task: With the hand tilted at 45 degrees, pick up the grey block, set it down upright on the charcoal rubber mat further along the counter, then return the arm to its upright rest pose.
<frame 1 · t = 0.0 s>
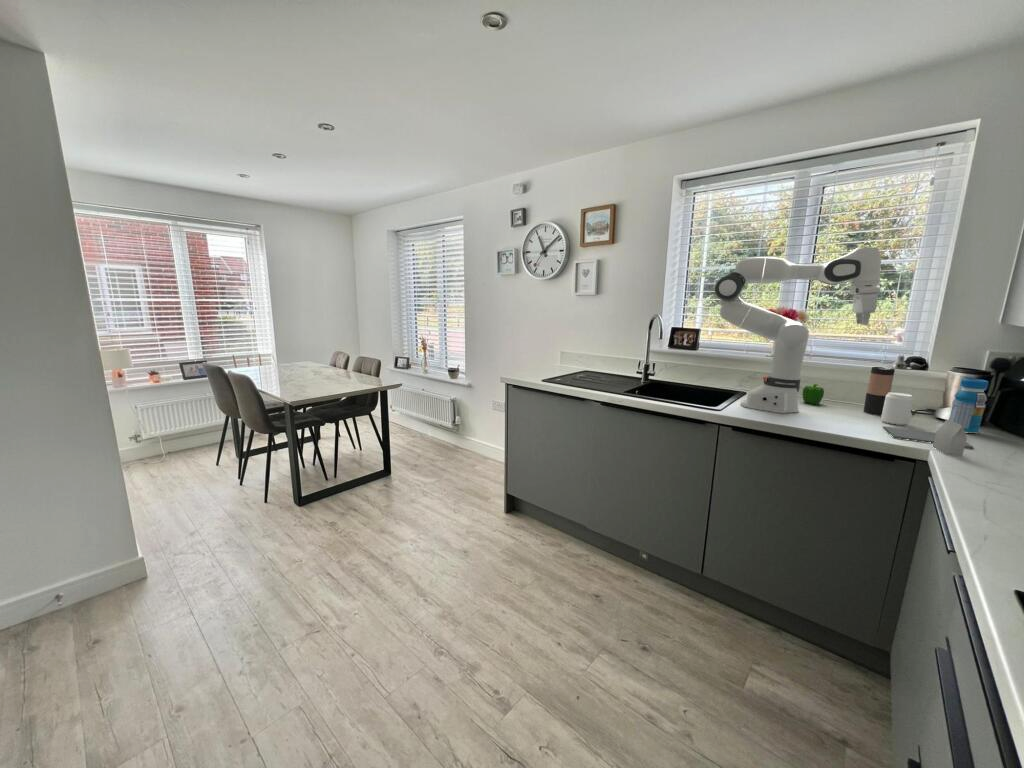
hand: (862, 324, 164), 39 cm above the table, tool pointing down, fingers open, 8 cm apart
bell pepper: (811, 403, 195), on the table
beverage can: (893, 423, 165), on the table
charcoal mat: (924, 437, 146), on the table
beverage bottle: (961, 431, 156), on the table
travel mug: (873, 413, 180), on the table
grey block: (946, 452, 132), on the table
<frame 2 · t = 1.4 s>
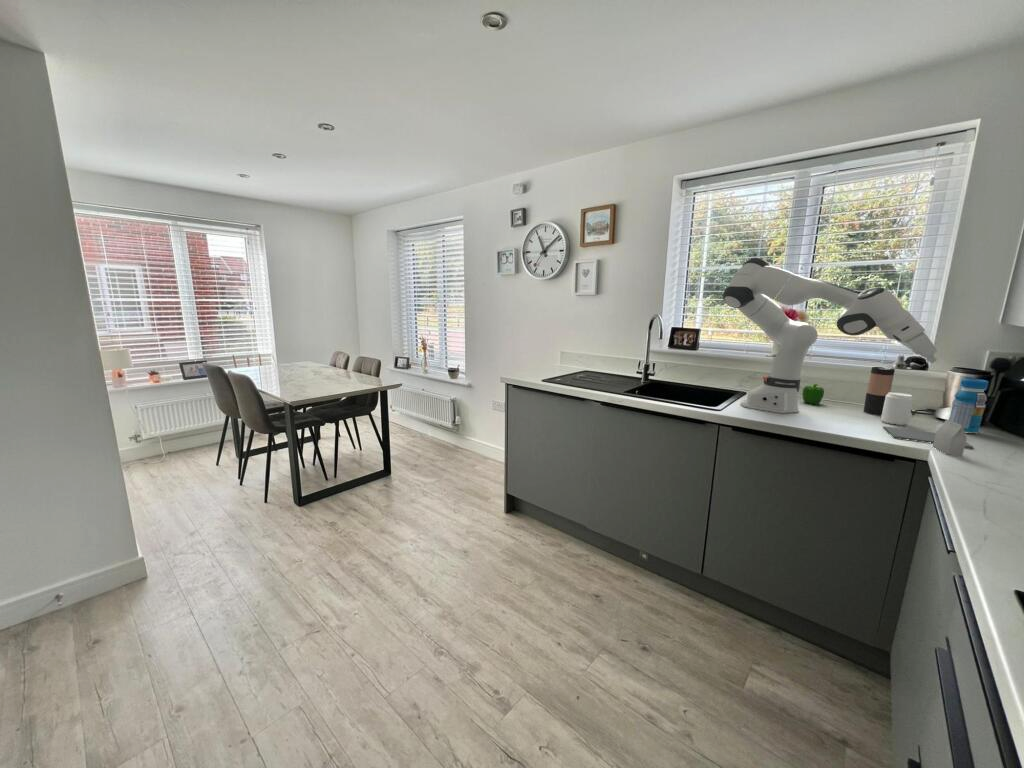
hand: (926, 356, 139), 29 cm above the table, tool tilted 45°, fingers open, 8 cm apart
nothing on the table moved.
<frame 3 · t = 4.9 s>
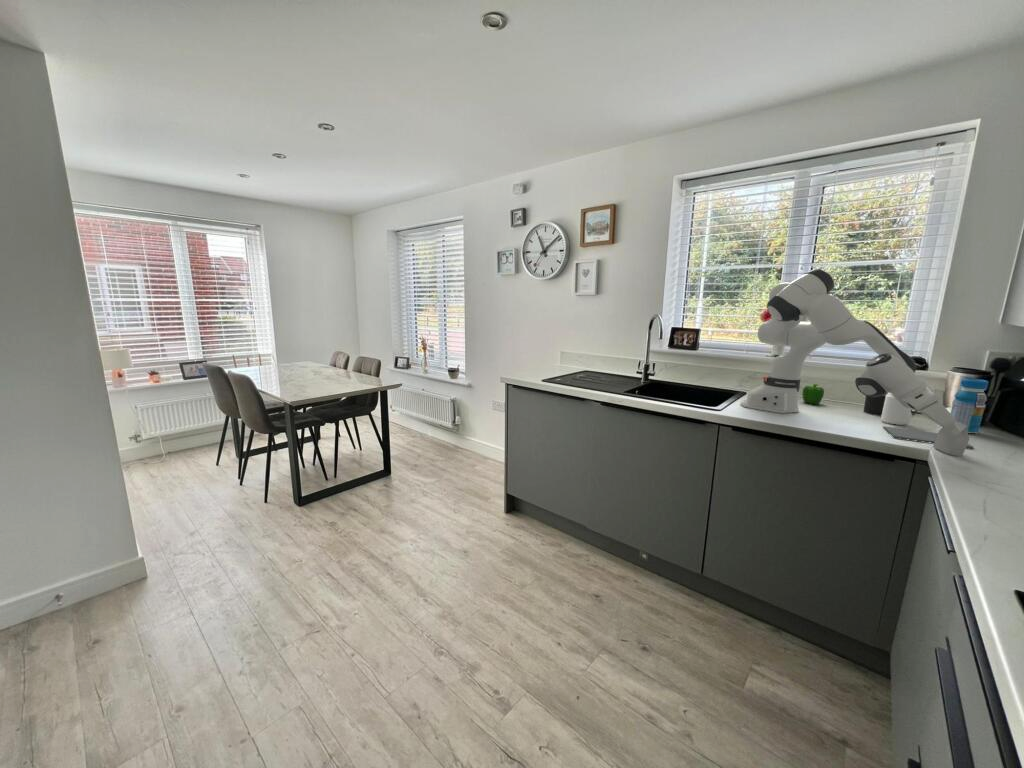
hand: (950, 429, 131), 8 cm above the table, tool tilted 45°, fingers open, 8 cm apart
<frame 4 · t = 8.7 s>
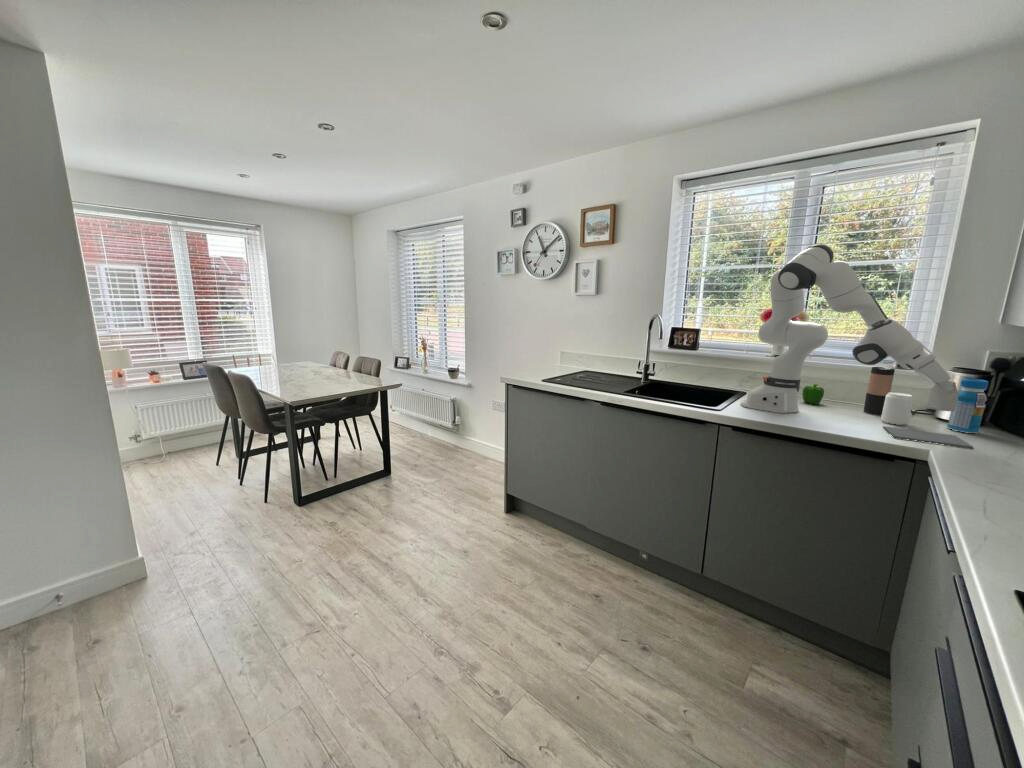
hand: (945, 387, 140), 19 cm above the table, tool tilted 45°, fingers closed on grey block, 7 cm apart
grey block: (940, 408, 142), point 11 cm above the table, touching gripper
everything else where it was.
when the fingers open (9 cm above the table, at t = 11.9 s): grey block stays where it is, resting on charcoal mat.
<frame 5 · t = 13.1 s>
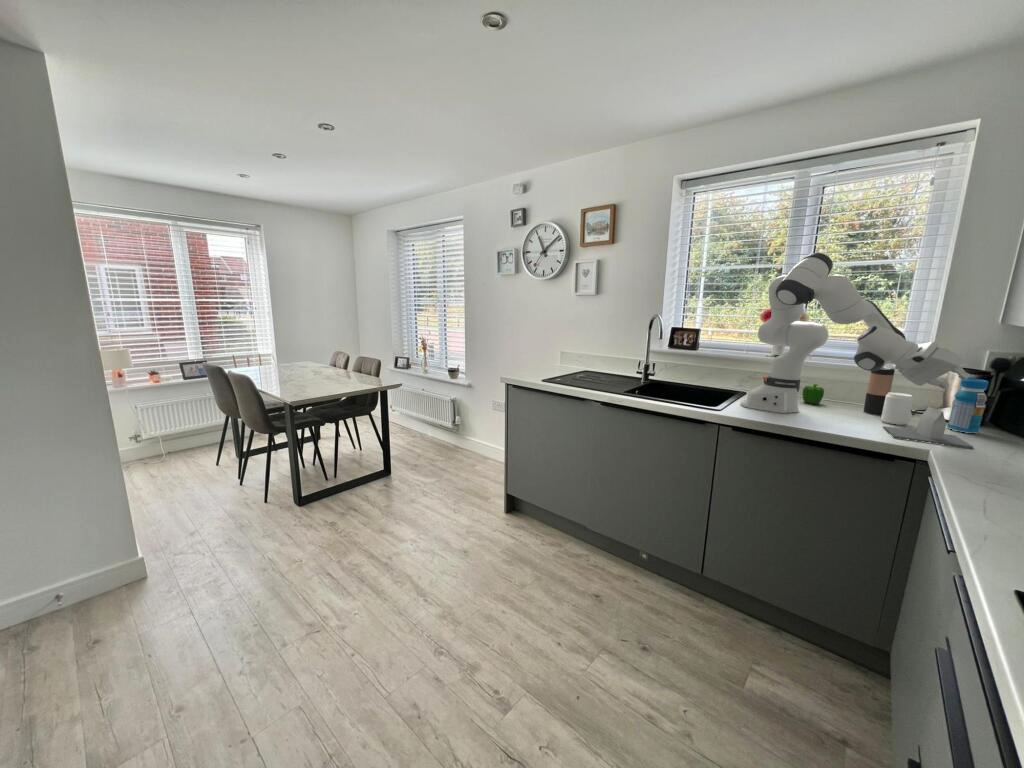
hand: (956, 382, 136), 22 cm above the table, tool tilted 60°, fingers open, 8 cm apart
grey block: (928, 436, 146), point 1 cm above the table, touching charcoal mat
everything else where it was.
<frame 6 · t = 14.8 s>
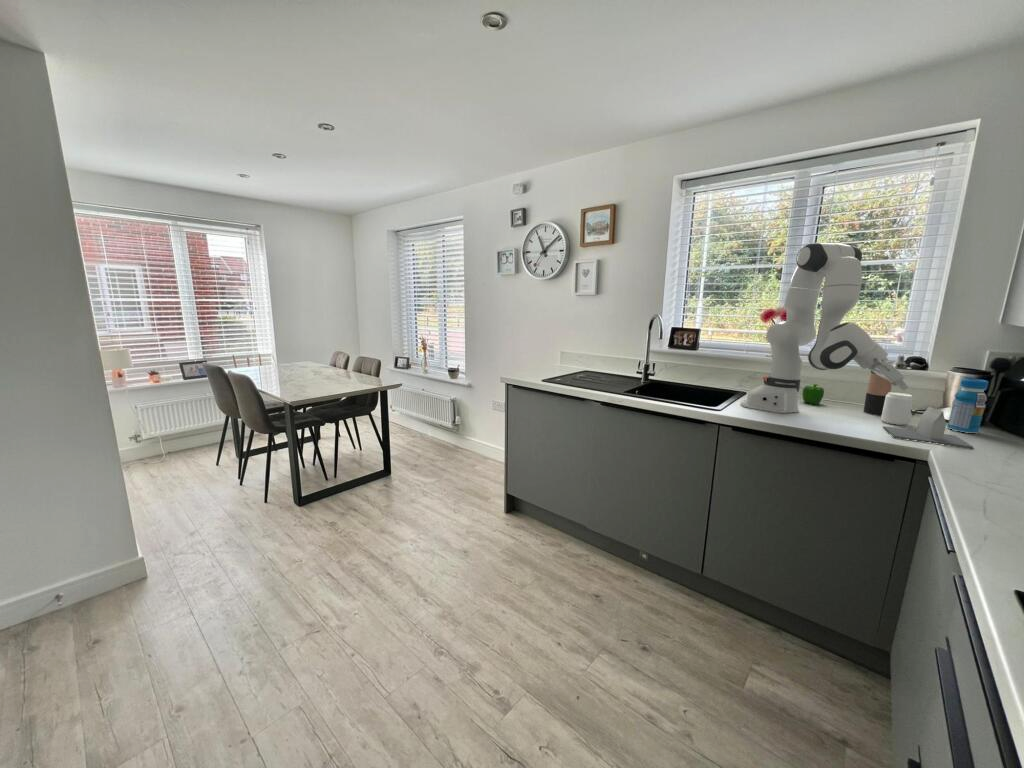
hand: (901, 386, 147), 18 cm above the table, tool tilted 45°, fingers open, 8 cm apart
nothing on the table moved.
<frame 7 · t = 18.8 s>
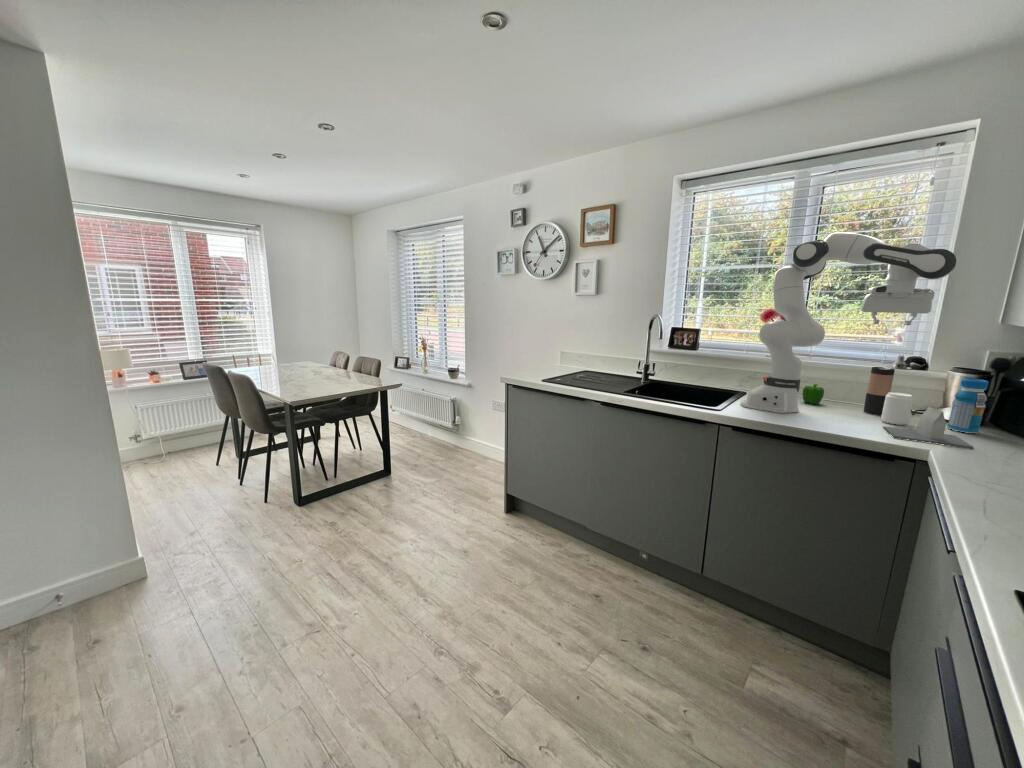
hand: (891, 324, 160), 39 cm above the table, tool pointing down, fingers open, 8 cm apart
nothing on the table moved.
at the end: grey block inside the target area on the charcoal mat (1.0 cm from its centre), point 0.6 cm above the charcoal mat's base; grey block tilted 0°; the gripper is holding nothing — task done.
